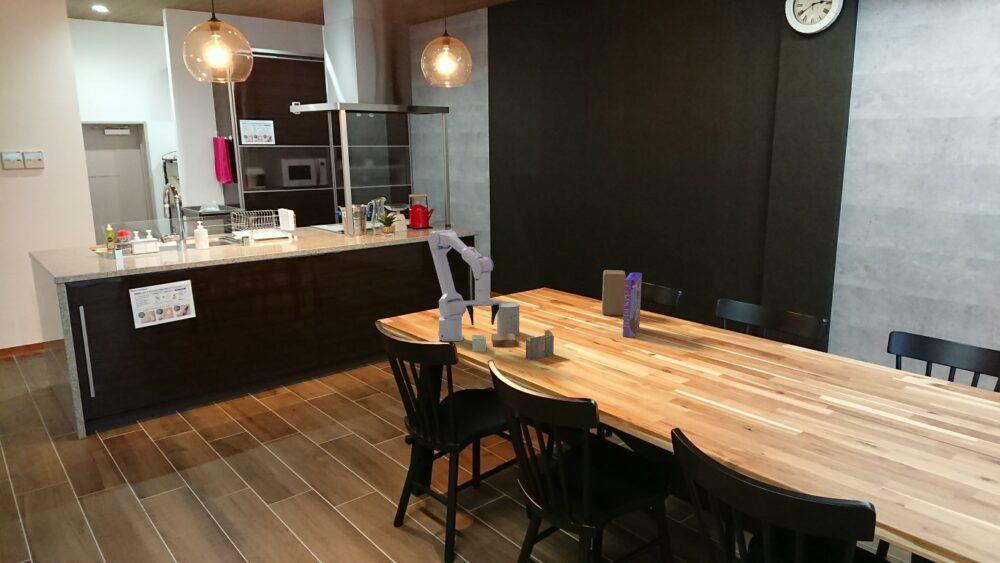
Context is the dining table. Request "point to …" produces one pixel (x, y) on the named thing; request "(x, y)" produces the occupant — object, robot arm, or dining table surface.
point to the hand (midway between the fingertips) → (482, 324)
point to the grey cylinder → (508, 318)
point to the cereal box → (632, 304)
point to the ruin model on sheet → (540, 346)
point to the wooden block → (613, 292)
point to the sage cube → (479, 342)
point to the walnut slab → (504, 339)
